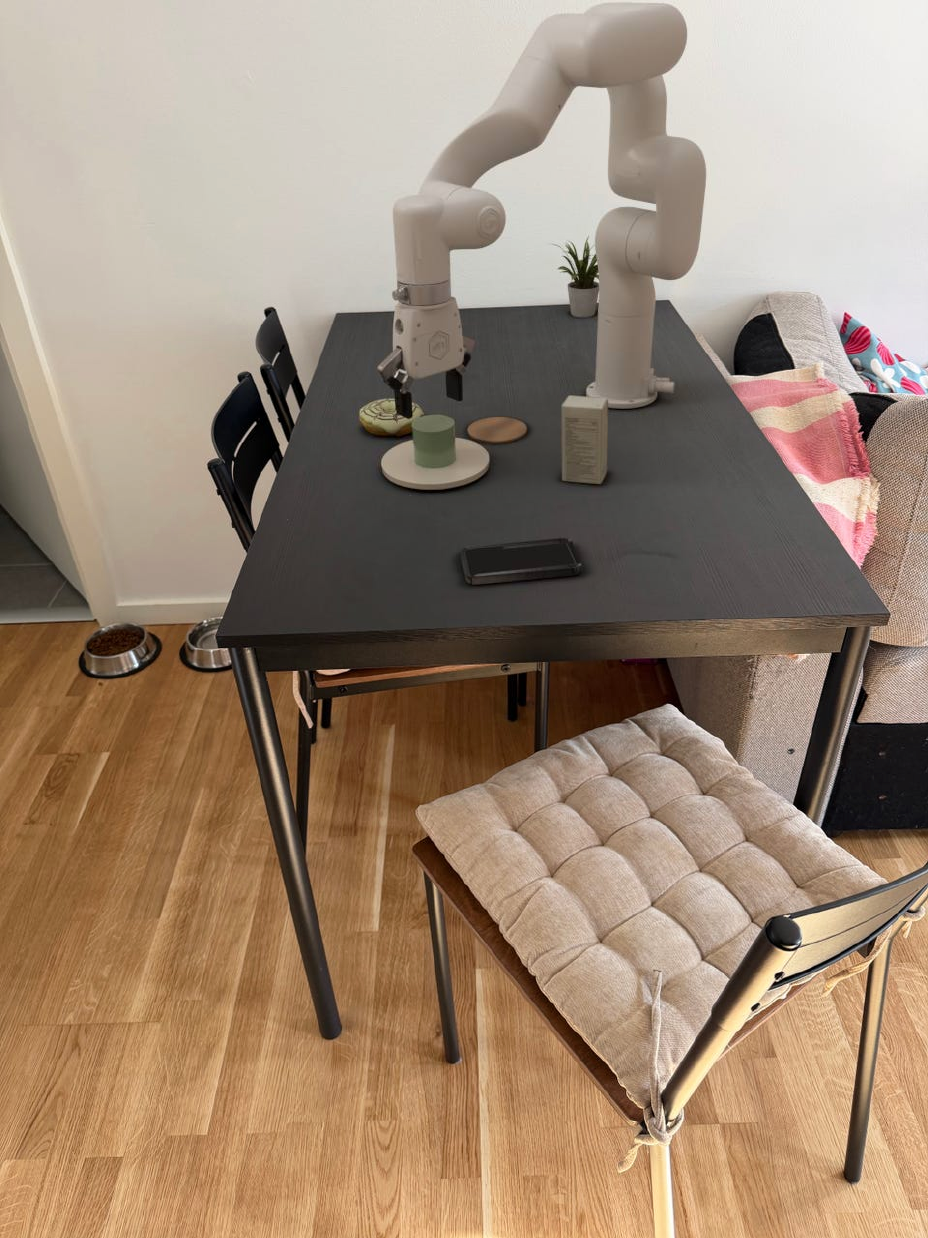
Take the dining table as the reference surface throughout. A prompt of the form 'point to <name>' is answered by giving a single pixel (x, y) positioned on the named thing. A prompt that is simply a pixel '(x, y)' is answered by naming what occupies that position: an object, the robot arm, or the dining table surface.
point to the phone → (520, 561)
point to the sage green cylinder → (434, 441)
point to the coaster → (497, 430)
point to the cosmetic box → (584, 439)
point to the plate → (409, 474)
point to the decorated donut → (387, 418)
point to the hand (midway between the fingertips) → (430, 407)
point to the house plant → (582, 283)
